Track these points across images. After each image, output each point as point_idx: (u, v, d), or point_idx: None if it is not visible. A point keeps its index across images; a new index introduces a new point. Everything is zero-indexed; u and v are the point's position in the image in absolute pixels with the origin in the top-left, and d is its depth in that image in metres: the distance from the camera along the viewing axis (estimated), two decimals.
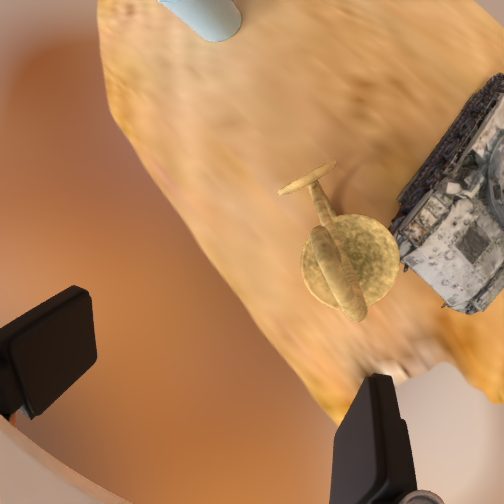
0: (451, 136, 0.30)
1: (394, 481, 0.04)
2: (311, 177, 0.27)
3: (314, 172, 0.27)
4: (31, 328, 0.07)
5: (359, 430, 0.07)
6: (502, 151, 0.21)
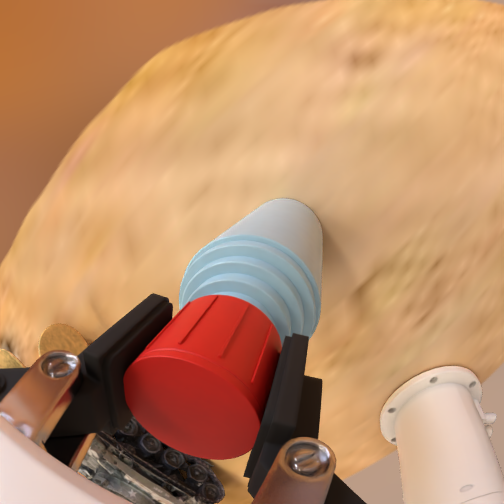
0: None
1: (280, 422, 0.06)
2: None
3: None
4: (125, 341, 0.07)
5: None
6: (126, 494, 0.28)
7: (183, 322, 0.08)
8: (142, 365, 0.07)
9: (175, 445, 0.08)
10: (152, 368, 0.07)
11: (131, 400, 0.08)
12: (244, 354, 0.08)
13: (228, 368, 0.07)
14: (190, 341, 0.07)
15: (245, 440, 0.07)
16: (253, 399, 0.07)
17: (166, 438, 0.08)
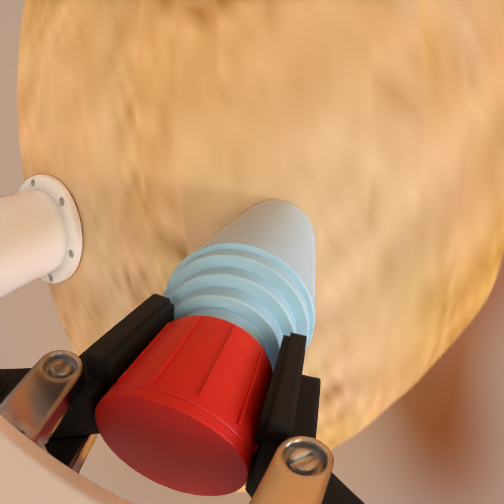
0: None
1: (277, 421, 0.06)
2: None
3: None
4: (127, 342, 0.07)
5: (270, 382, 0.08)
6: None
7: (160, 350, 0.07)
8: (113, 402, 0.06)
9: (156, 479, 0.06)
10: (124, 406, 0.06)
11: (105, 433, 0.06)
12: (229, 391, 0.06)
13: (210, 409, 0.06)
14: (166, 377, 0.06)
15: (231, 481, 0.06)
16: (239, 443, 0.05)
17: (146, 472, 0.06)
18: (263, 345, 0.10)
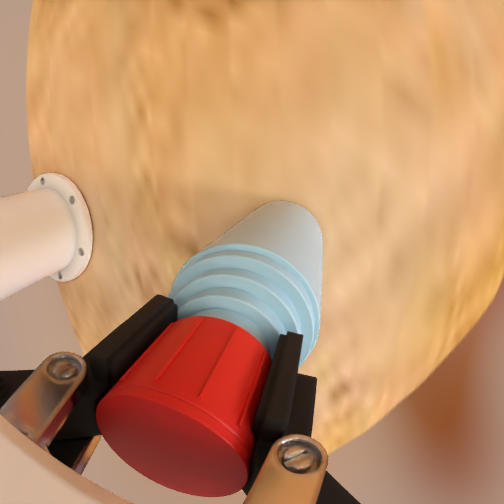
0: None
1: (272, 419, 0.06)
2: None
3: None
4: (131, 343, 0.07)
5: None
6: None
7: (162, 351, 0.07)
8: (114, 402, 0.06)
9: (156, 479, 0.06)
10: (125, 406, 0.06)
11: (106, 433, 0.06)
12: (230, 392, 0.06)
13: (211, 410, 0.06)
14: (167, 377, 0.06)
15: (231, 483, 0.06)
16: (239, 445, 0.05)
17: (146, 472, 0.06)
18: (267, 346, 0.10)
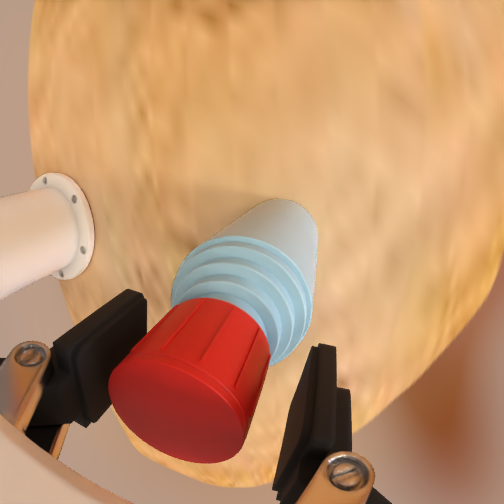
0: None
1: (319, 438, 0.05)
2: None
3: None
4: (94, 334, 0.07)
5: (301, 395, 0.08)
6: None
7: (168, 326, 0.08)
8: (126, 368, 0.07)
9: (162, 448, 0.08)
10: (135, 372, 0.07)
11: (117, 402, 0.07)
12: (228, 359, 0.07)
13: (210, 373, 0.07)
14: (173, 345, 0.07)
15: (229, 445, 0.07)
16: (236, 404, 0.07)
17: (152, 441, 0.08)
18: (262, 326, 0.11)
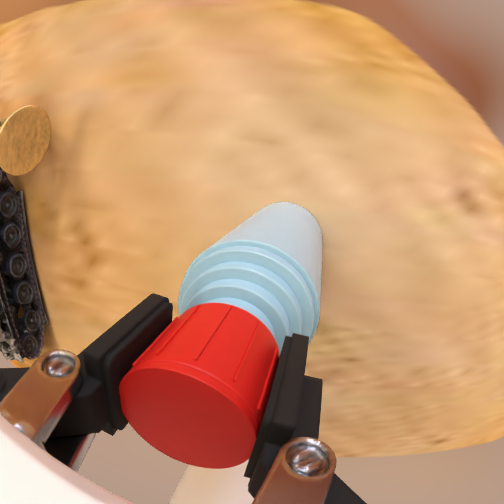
0: (30, 274, 0.34)
1: (280, 422, 0.06)
2: None
3: None
4: (125, 341, 0.07)
5: None
6: None
7: None
8: (179, 459, 0.08)
9: (240, 422, 0.06)
10: (172, 453, 0.08)
11: (228, 462, 0.07)
12: None
13: None
14: None
15: (146, 379, 0.07)
16: None
17: (240, 431, 0.07)
18: (217, 300, 0.11)
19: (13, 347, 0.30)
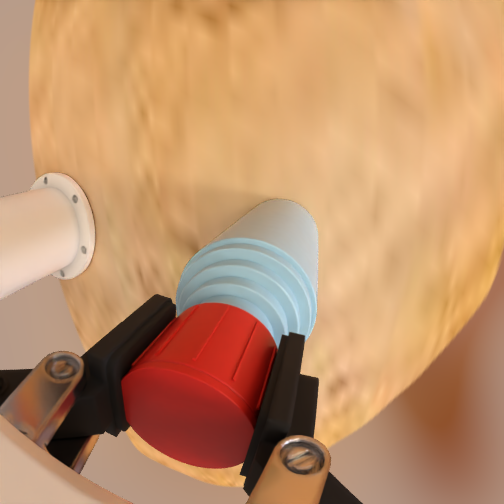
0: None
1: (275, 420, 0.06)
2: None
3: None
4: (129, 342, 0.07)
5: None
6: None
7: None
8: (179, 459, 0.08)
9: (240, 421, 0.06)
10: (173, 453, 0.08)
11: (228, 461, 0.07)
12: None
13: None
14: None
15: (145, 379, 0.07)
16: None
17: (240, 430, 0.07)
18: (270, 328, 0.11)
19: None
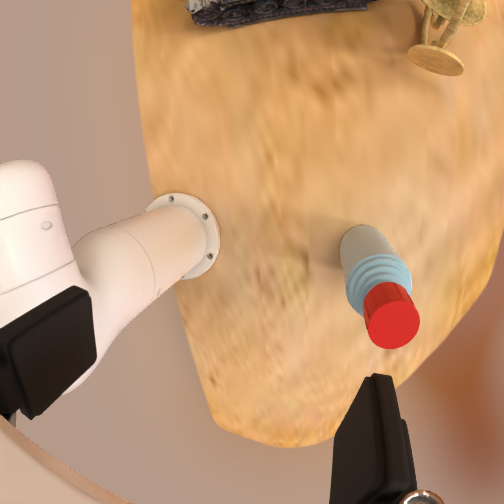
0: (283, 11, 0.31)
1: (394, 481, 0.04)
2: (441, 48, 0.21)
3: (436, 49, 0.21)
4: (31, 328, 0.07)
5: (359, 430, 0.07)
6: None
7: None
8: (385, 346, 0.20)
9: (416, 318, 0.19)
10: (383, 344, 0.20)
11: (406, 341, 0.20)
12: (366, 318, 0.21)
13: (368, 326, 0.21)
14: None
15: (388, 307, 0.20)
16: (370, 316, 0.20)
17: (415, 322, 0.19)
18: None
19: (207, 1, 0.27)
